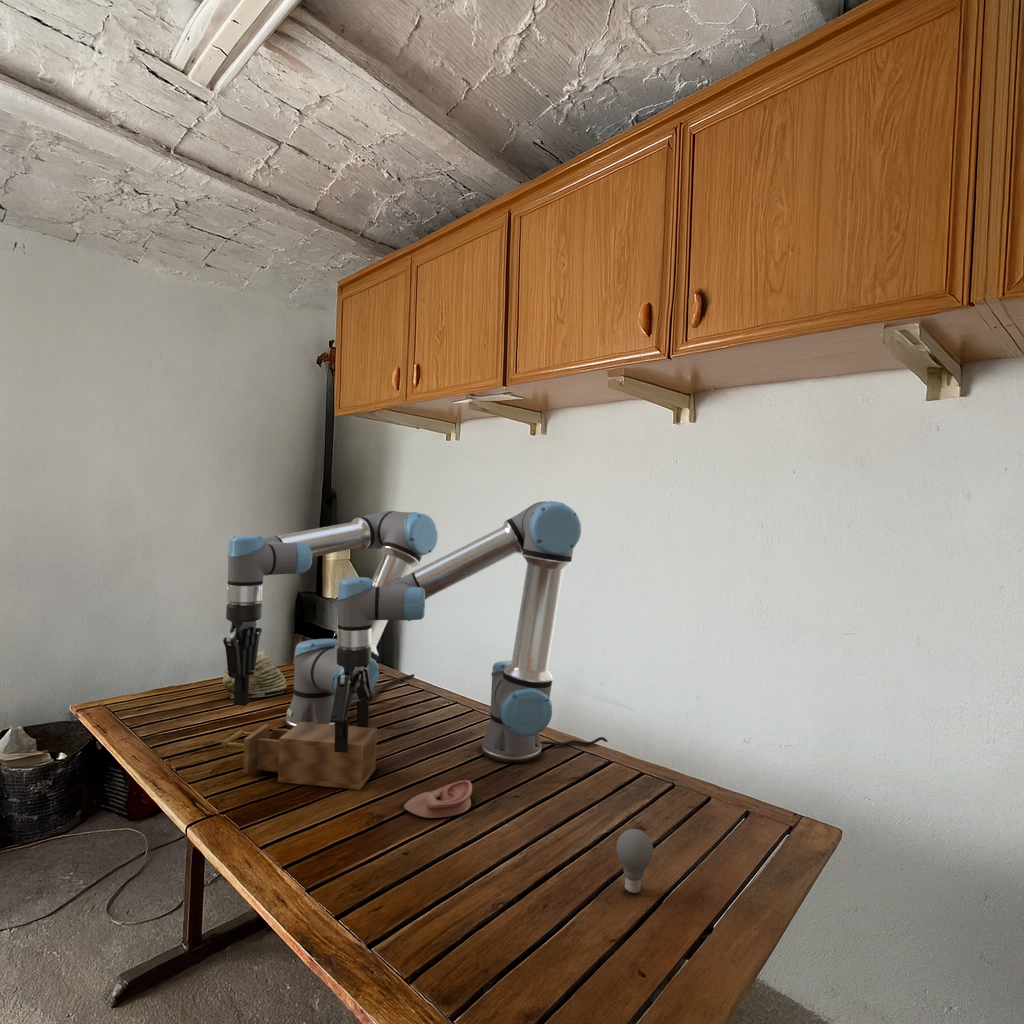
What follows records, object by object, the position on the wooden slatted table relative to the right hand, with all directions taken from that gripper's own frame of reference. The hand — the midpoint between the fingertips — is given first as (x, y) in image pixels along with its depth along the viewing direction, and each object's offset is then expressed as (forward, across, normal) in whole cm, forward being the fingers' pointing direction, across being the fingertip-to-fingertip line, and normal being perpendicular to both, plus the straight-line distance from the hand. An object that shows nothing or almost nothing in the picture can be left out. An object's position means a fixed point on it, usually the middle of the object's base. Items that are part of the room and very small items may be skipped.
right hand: (352, 739), depth 143 cm
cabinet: (+8, 0, -6) cm, 10 cm away
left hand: (-7, 0, -27) cm, 28 cm away
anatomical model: (+9, +9, +22) cm, 26 cm away
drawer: (+7, 0, -18) cm, 19 cm away
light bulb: (+10, +32, +60) cm, 69 cm away
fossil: (+8, -50, -50) cm, 71 cm away
